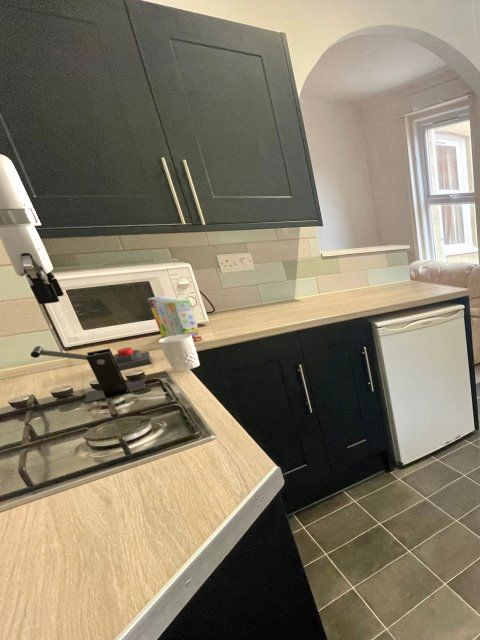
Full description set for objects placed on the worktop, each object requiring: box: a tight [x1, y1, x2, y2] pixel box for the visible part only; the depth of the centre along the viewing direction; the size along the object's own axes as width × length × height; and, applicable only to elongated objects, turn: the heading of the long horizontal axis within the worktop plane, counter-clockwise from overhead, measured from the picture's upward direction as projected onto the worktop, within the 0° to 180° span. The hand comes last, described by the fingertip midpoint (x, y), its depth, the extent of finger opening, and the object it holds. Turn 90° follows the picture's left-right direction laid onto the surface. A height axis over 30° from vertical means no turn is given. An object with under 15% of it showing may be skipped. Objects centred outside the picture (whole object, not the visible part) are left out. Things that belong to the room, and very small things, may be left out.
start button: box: [117, 347, 134, 356], centre depth 130 cm, size 4×4×2 cm
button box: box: [113, 349, 153, 372], centre depth 131 cm, size 10×10×4 cm
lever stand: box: [84, 347, 147, 405], centre depth 109 cm, size 12×9×12 cm
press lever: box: [30, 345, 100, 361], centre depth 104 cm, size 13×6×2 cm, turn 131°
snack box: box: [147, 295, 203, 343], centre depth 155 cm, size 21×6×15 cm, turn 59°
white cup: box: [158, 334, 201, 372], centre depth 124 cm, size 8×8×10 cm
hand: (52, 299), depth 95 cm, fingers open, 9 cm apart
